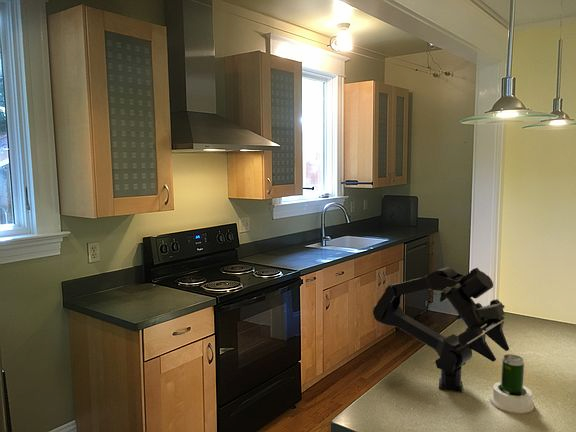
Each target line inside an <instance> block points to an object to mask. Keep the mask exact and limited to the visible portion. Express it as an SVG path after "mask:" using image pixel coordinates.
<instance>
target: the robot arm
mask: <svg viewBox="0 0 576 432" xmlns="http://www.w3.org/2000/svg"><path fill="white" fill-rule="evenodd" d="M458 285H459V287H456V286H458ZM448 288H450V289H448ZM492 288H494V282H493V280H492V279H491V277H490V276H489V275H488V274H486V273H485V272H484V271H481V270H480V269H479V268H478V267H476V268H475V267H474V268H472V269H471V270H470V271H469V273H467V274H466V275H464V274H463V273H459V272H457V271H456V270H455V269H454V268H452V267H448V266H446V267H443V268H440V269H436V270H434V271H432V272H430V273H428V274H426V275H424V276H423V277H419V278H414V279H410V280H407V281H403V282H398V283H397V282H395V283H392V284H389V285H387V286H386V288H385V290H384V293H383V294H382V296H381V297H380V298H379V299H378V301H377V303H376V305H375V306H374V307H373V310H372V312H373V313H372V315H373V317H374V319H375V321H376V322H378V323H380V324H383V325H386V326H390V327H395V328H398V329H399V330H401V331H403V332H405V333H406V334H408V335H410V336H411V337H413V338H414V339H416V340H418V341H419V342H422V344H424V345H426V346H428V347H430V348H431V349H433V350H434V351H435V352H436V353H437V355H438V357H439V358H437V359H436V360H435V361H434V362H435V365H436V368H437V369H439V370H440V378H439V381H438V389H439V390H442V391H443V390H444V391H451V392H457V393H463V381H462V366H464V365H466V364H467V362H468V361H470V360H471V359H472V358H473V351H474V352H476V353H478V354H479V355H481V356H482V357H484V358H485V359H488V360H490V361H491V362H496V361H497V357H496V356H495V354H494V353H493V351H492V349H491V348H490V346H489V345H488V343H487V341H486V337H488V338H489V339H491V340H492V341H493V342H494V343H495V344H496V345H498V346H499V347H500V348H501V349H503V350H504V351H505V352H508V351H510V347H509V344H508V342H507V339H506V336H505V334H504V331H503V327H504V324H505V321H504V320H505V317H504V315H506V314H505V312H504V309H505V305H504V304H503V303H502V302H501V301H500V300H499V299H497V298H495V299H492V300H491V301H489V304H487V305H484V306H483V305H482V304H481V303H480V302H477V303H476V302H475V301H474V299H478V298H480V297H481V296H483V295H484V294H486V293H487V292H488V291H490V290H491V289H492ZM446 289H448V290H447V291H446ZM425 290H431V291H441V290H444V291H441V292H440V298H439V302H440V303H443V302H445V301H448V303H449V304H450V305H451V306H452V308H453V309H454V311H455V312H456V313H457V316H456V318H457V320H460V319H461V321H463V323H464V324H465V325H466V327H467V328H465V331H462V332H461V333H460V334H458V335H457V334H455V333H452V334H451V335H448V336H444V335H443V334H440V333H439V332H437V331H435V330H433V329H431V328H430V327H429V326H426V325H424V324H423V323H421V322H419V321H417V320H415V319H414V318H413V317H410V316H408V315H407V314H405V311H404V310H403V308H402V307H401V303H402V296H403V295H406V294H410V293H411V294H412V293H414V292H415V293H416V292H419V291H425ZM483 331H484V332H483Z"/></svg>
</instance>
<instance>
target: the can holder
mask: <svg viewBox="0 0 576 432" xmlns="http://www.w3.org/2000/svg"><path fill="white" fill-rule="evenodd" d="M532 398H533V393H532V390H531V389H530V388H528V387H527V386H525V385H523V393H522V396H514V395H509V394H506V393H503V392H502V391H501V381H498V382H496V383H494V384H493V386H492V392H491V393H490V394H489V401H490V403H491V405H493V407H495V408H497V409H498V410H501V411H503V412H506V413H511V414H517V415H525V414H530V413H532V412H534V410H535V409H534V408H535V402H534V401H533V399H532Z"/></svg>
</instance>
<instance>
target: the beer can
mask: <svg viewBox="0 0 576 432" xmlns="http://www.w3.org/2000/svg"><path fill="white" fill-rule="evenodd" d="M524 370H525V362H524V358H523V357H521V356H519V355H516V354H510V353H508V354H505V355H503V358H502V363H501V381H500V382H501V391H502V392H503V393H506V394H509V395H514V396H522V393H523V386H524V372H525V371H524Z"/></svg>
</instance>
